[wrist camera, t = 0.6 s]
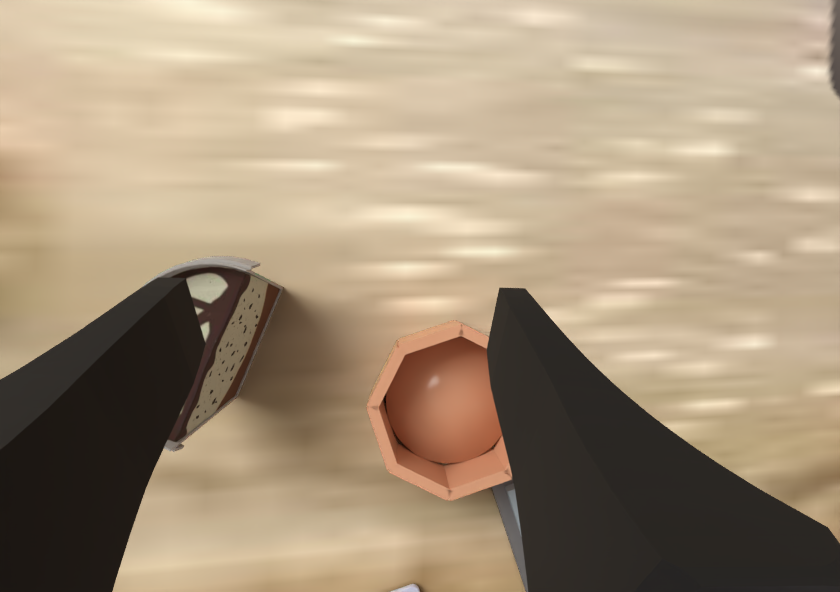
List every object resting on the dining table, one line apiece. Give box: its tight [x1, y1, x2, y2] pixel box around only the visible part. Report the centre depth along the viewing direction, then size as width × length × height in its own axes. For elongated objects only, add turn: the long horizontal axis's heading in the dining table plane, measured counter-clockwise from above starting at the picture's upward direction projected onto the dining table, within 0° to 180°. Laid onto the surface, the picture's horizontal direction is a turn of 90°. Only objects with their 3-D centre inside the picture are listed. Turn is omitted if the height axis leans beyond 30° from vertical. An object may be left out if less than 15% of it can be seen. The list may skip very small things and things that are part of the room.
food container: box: [144, 256, 283, 452], centre depth 32 cm, size 12×6×10 cm, turn 157°
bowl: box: [367, 320, 512, 501], centre depth 35 cm, size 12×12×4 cm
